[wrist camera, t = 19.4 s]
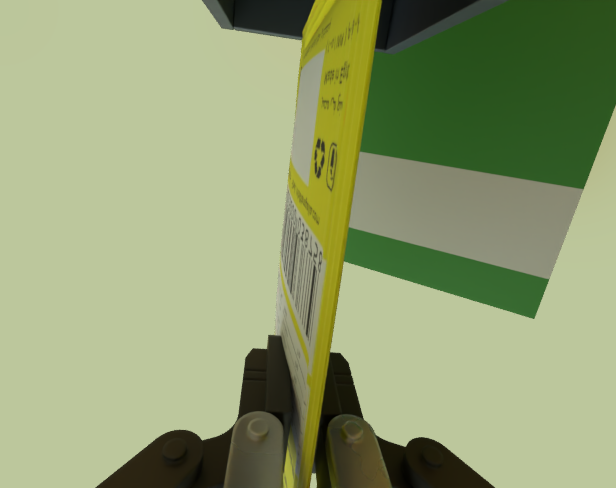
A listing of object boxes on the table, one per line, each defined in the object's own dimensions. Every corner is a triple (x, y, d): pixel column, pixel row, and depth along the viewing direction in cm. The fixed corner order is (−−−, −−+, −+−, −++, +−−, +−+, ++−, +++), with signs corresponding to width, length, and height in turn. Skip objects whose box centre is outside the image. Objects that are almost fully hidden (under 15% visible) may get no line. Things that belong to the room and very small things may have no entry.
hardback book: (704, -129, 17) (534, 318, 25) (650, -57, 23) (528, 282, 31) (352, -89, 24) (307, 250, 32) (384, -42, 30) (340, 232, 38)
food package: (314, 29, 18) (282, 360, 25) (291, 26, 18) (266, 359, 25) (465, -229, 4) (294, 697, 11) (360, -252, 4) (256, 700, 11)
